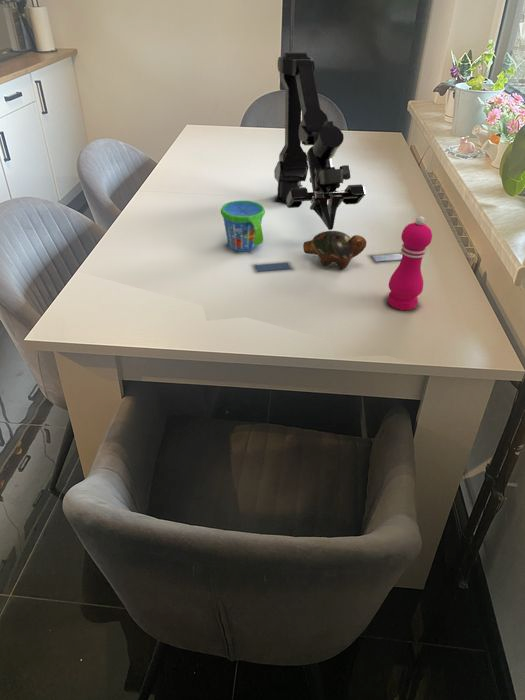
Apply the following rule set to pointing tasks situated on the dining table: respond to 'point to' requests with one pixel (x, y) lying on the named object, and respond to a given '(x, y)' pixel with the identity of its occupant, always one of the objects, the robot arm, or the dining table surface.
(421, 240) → the pepper mill
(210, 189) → the dining table surface
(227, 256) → the dining table surface
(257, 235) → the snack cup
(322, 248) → the decorative turtle
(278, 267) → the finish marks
